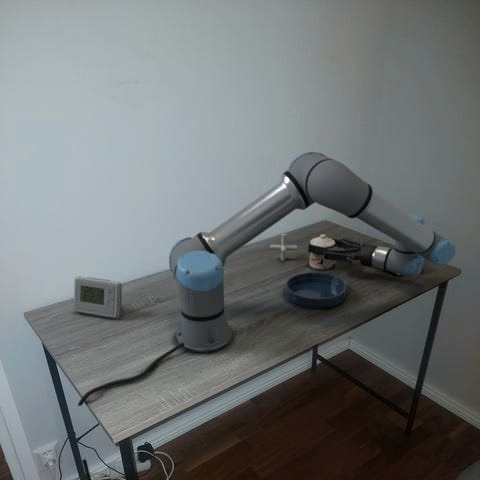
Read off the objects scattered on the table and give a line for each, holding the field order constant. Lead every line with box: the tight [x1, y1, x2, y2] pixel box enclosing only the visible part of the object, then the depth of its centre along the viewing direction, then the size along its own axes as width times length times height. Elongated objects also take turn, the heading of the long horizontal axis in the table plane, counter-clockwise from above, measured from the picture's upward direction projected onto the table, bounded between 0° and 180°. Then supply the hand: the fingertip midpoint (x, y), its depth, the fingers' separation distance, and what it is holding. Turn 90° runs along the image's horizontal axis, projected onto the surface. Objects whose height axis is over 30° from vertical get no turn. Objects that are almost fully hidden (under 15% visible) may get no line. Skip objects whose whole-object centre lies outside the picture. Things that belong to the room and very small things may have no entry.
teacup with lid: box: [309, 233, 338, 270], centre depth 162 cm, size 12×9×12 cm
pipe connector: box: [269, 233, 298, 262], centre depth 168 cm, size 10×10×10 cm
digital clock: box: [73, 275, 123, 319], centre depth 135 cm, size 16×9×11 cm, turn 60°
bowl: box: [284, 272, 347, 309], centre depth 145 cm, size 19×19×3 cm
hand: (314, 244), depth 164 cm, fingers closed on teacup with lid, 9 cm apart
